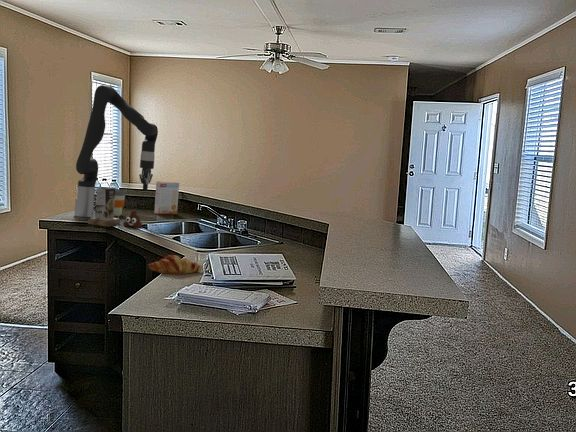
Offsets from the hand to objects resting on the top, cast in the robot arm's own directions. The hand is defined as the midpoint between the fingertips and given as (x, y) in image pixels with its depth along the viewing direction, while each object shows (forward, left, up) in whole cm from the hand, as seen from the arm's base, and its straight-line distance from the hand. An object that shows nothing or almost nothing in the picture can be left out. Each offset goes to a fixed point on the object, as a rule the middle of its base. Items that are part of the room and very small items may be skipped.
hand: (145, 190), depth 331 cm
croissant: (+59, -99, -19) cm, 117 cm away
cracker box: (-9, +54, -19) cm, 58 cm away
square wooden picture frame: (-15, -15, -19) cm, 29 cm away
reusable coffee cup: (-29, +22, -19) cm, 41 cm away
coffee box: (-15, -15, -16) cm, 27 cm away
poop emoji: (-1, -11, -19) cm, 22 cm away
